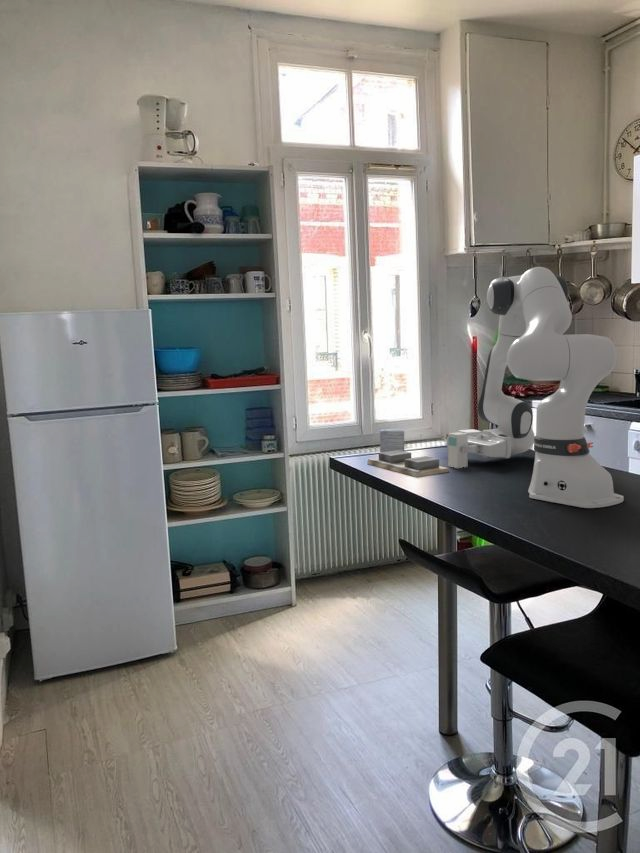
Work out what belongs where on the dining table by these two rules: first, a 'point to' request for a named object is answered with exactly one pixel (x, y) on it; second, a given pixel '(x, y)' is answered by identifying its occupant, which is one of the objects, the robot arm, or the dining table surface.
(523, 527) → the dining table surface
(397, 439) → the medicine box
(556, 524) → the dining table surface
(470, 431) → the white cube
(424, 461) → the mounting board
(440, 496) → the dining table surface
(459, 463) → the block
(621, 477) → the dining table surface
